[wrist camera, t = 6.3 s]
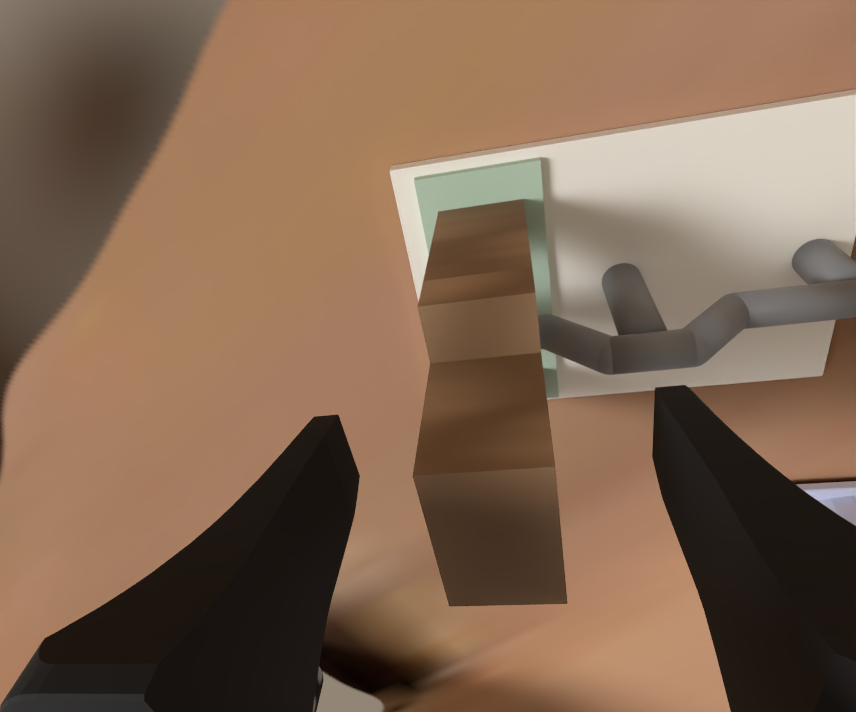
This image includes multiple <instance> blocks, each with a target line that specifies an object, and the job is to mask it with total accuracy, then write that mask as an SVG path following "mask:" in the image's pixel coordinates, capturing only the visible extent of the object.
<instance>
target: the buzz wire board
mask: <svg viewBox="0 0 856 712" xmlns="http://www.w3.org/2000/svg"><path fill="white" fill-rule="evenodd" d="M537 157H540V160H541V173H542V186H543V199H544V211H545V224H546V237H547V250H548V263H549V276H550V289H551V302H552V314H539V315H538V324H539V335H540V346H541V349H544V350H547V351H549V352H552V353H554V354H556V367H557V380H558V393H559V397H554V398H547V399H558V398H569V397H581V396H593V395H605V394H616V393H628V392H640V391H652V390H655V387H666V386H678V385H686V386H687V387H698V386H710V385H722V384H734V383H745V382H757V381H769V380H780V379H792V378H804V377H816V376H823V372H824V368H825V363H826V359H827V355H828V351H829V346H830V342H831V338H832V334H833V329H834V325H835V321H836V320H838V319H848V318H856V261H854V260H853V259H852V258H851V253H852V249H853V245H854V240H855V236H856V89H854V90H847V91H841V92H835V93H829V94H823V95H817V96H811V97H805V98H799V99H793V100H787V101H781V102H775V103H769V104H763V105H757V106H751V107H744V108H738V109H732V110H726V111H720V112H714V113H708V114H702V115H696V116H690V117H684V118H678V119H672V120H666V121H660V122H654V123H647V124H641V125H635V126H629V127H623V128H617V129H611V130H605V131H599V132H593V133H587V134H581V135H575V136H569V137H563V138H557V139H551V140H544V141H538V142H532V143H526V144H520V145H514V146H508V147H502V148H496V149H490V150H484V151H478V152H472V153H466V154H460V155H454V156H447V157H441V158H435V159H429V160H423V161H417V162H411V163H405V164H399V165H393V166H392V167H391V169H390V175H391V180H392V184H393V189H394V193H395V198H396V202H397V207H398V211H399V216H400V220H401V225H402V229H403V234H404V238H405V243H406V247H407V252H408V256H409V261H410V266H411V270H412V275H413V279H414V284H415V288H416V293H417V297H418V302H419V298H420V293H421V289H422V284H423V280H424V275H425V270H426V266H427V261H428V257H429V254H428V249H427V244H426V239H425V234H424V229H423V224H422V219H421V214H420V209H419V204H418V199H417V194H416V189H415V184H414V178H415V177H419V176H425V175H431V174H437V173H444V172H450V171H456V170H462V169H469V168H475V167H481V166H487V165H494V164H500V163H506V162H512V161H519V160H525V159H531V158H537Z"/></svg>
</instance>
